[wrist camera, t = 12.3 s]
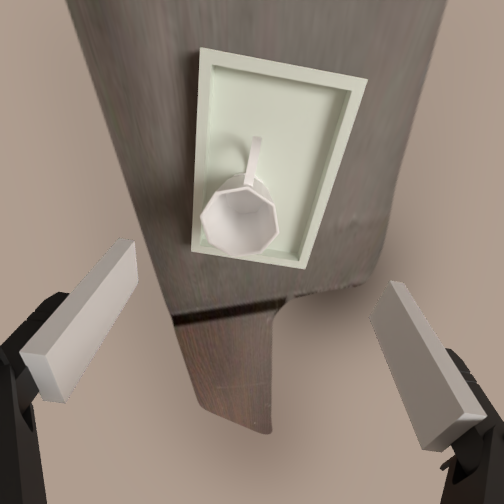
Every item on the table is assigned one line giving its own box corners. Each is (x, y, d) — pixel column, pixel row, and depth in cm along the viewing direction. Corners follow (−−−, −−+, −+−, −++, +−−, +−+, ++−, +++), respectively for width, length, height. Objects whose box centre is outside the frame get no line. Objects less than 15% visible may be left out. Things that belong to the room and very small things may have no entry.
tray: (205, 49, 24) (199, 47, 22) (359, 78, 25) (367, 79, 23) (195, 240, 35) (191, 251, 33) (302, 257, 36) (305, 269, 34)
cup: (210, 212, 32) (195, 250, 26) (223, 120, 27) (208, 137, 20) (269, 225, 33) (269, 265, 26) (293, 137, 27) (301, 159, 21)
